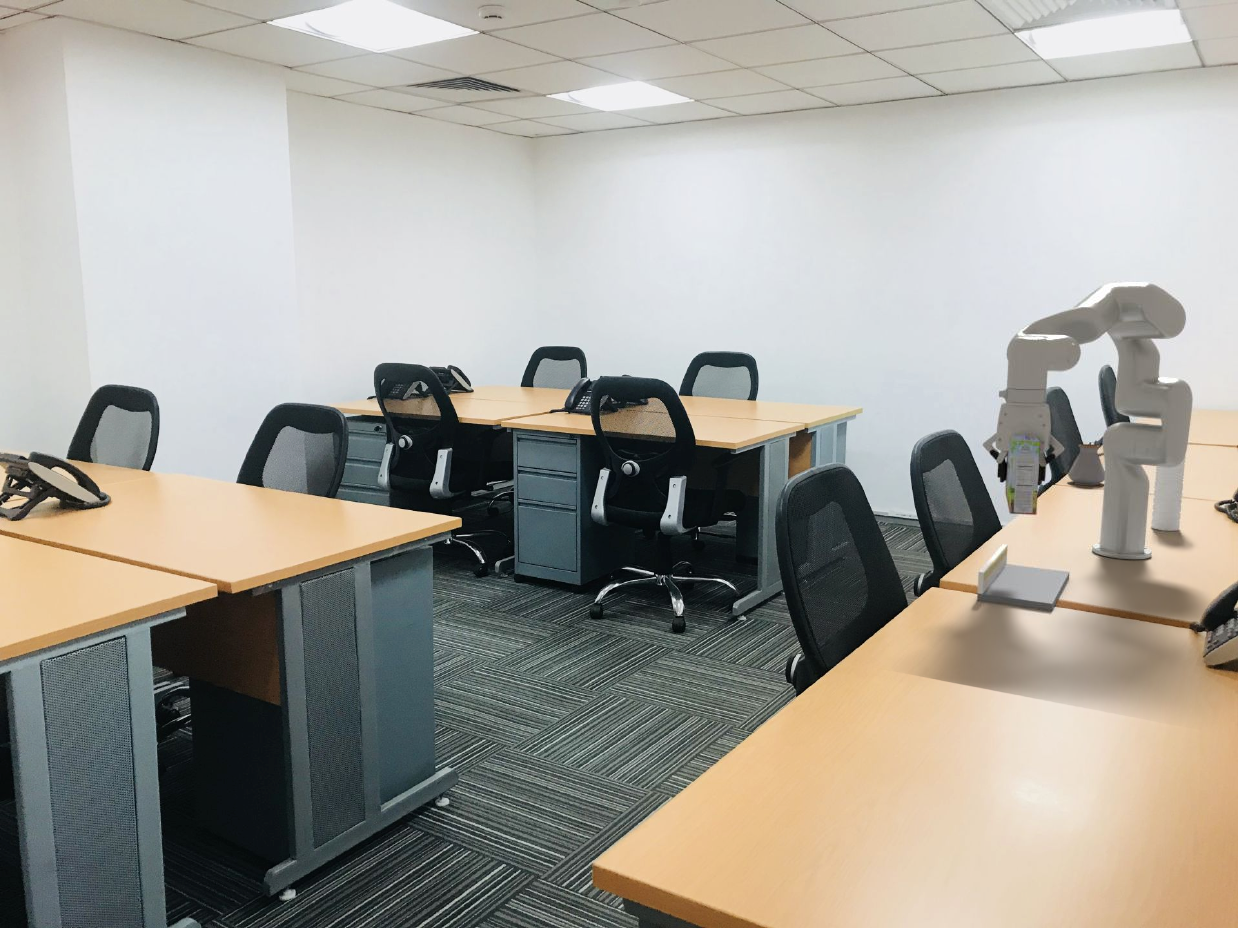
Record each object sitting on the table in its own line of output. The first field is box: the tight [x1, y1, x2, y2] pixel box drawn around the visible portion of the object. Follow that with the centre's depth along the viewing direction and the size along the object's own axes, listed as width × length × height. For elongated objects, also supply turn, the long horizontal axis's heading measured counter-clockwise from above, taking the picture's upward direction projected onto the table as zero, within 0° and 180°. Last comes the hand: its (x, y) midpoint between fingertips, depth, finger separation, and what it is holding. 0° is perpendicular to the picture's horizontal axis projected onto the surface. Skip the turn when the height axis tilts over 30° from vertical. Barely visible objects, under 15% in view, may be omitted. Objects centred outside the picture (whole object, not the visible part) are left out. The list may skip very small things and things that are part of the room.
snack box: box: [1005, 435, 1040, 516], centre depth 196 cm, size 21×6×15 cm, turn 161°
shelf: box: [976, 543, 1071, 612], centre depth 199 cm, size 26×14×6 cm, turn 148°
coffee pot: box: [1067, 443, 1105, 486], centre depth 311 cm, size 21×12×15 cm, turn 56°
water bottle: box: [1150, 457, 1186, 532], centre depth 250 cm, size 9×6×25 cm
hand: (1020, 482), depth 197 cm, fingers closed on snack box, 6 cm apart
